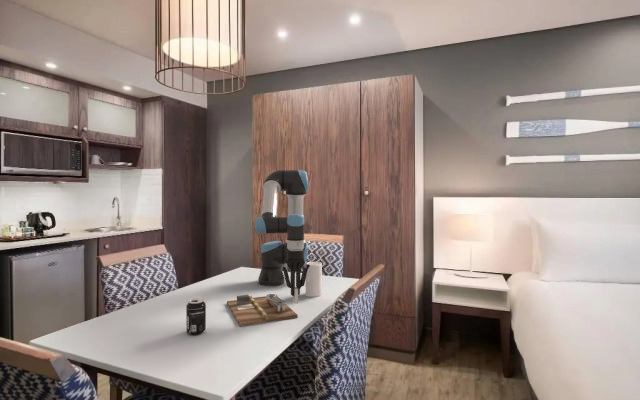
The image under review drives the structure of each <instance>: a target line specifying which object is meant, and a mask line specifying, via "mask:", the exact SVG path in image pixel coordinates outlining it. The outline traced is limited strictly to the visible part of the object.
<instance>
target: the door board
mask: <svg viewBox="0 0 640 400" xmlns="http://www.w3.org/2000/svg"><path fill="white" fill-rule="evenodd" d="M275 295H276V294H275ZM266 296H267V295H265V296H257V297H253V296H252V295H249V294H243V295H242V294H241V295H236V299H233V300H226V306H228V308H229V310H230V312H231V313H232V316H233V317H234V319H235V321H236V322H237V324H238V327H240V328H241V327H247V326H254V325H259V324H260V325H261V324H266V323H271V322H279V321H284V320H290V319H297V318H298V317H299V315H298V314H297V312H295V311H294V310H293V309H292V308H291V307H290V306H289V305H288V304H287V303H285V302H284V300H282V299H281V298H280V297H279V296H278V295H276V297H277V298H278V299H279V300H280V301H281V302H284V305H285V310H283V311H277V310H276V309H275V308H274V307H273V306H272V305H271V304H270V303H269V302H267V301H266Z"/></svg>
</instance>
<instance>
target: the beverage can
mask: <svg viewBox="0 0 640 400" xmlns="http://www.w3.org/2000/svg"><path fill="white" fill-rule="evenodd" d="M185 307H186V309H185V313H186V314H185V317H186V318H185V319H186V320H185V322H186V330H185V331H186V333H187V334H188V335H191V336H198V335H201V334H203V333H205V332H206V329H207V327H206V326H207V315H206V314H207V312H206V311H207V310H206V309H207V305H206V302H205V299H204V298H201V297H198V298H191V299H189V300H188V301H187V304H186V306H185Z"/></svg>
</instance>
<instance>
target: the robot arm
mask: <svg viewBox="0 0 640 400" xmlns="http://www.w3.org/2000/svg"><path fill="white" fill-rule="evenodd" d="M262 191H263V197H262V206H261V212H260V213H261V214H260V216H259V217H258V216H257V217H256V218H255V224H254V226H255V232H256V233H257V234H287V235H286V236H287V237H286V238H287V239H286V240H285V243H283V242H282V241H281V240H273V241H268V242H265V243H263V244H262V245H261V250H260V253H261V254H260V255H261V259H260V260H261V262H260V263H261V269H260V272H259V275H258V279H257V280H258V281H257V283H258V285H261V286H272V287H273V286H279V285H282V284H283V285H284V283H285V284H286V287H287V288H289V289H290V296H292V303H293V304H294V305H296V304H299V296H300V295H301V289H302V287H304V286H305V285H306V275H307V270H308V268H309V267H310V265H309V264H306V263H307V259H308V251H309V244H308V243H307V242H306V241H307V240H306V239H305V216H304V199H305V197H306V195H307V192H309V191H310V186H309V179H308V173H307V171H305V170H302V169H283V170H282V169H277V170H275V171H273V172H271V173H269V174H268V175H267V176H266V178H264V181H263V183H262ZM281 191H282V192H285V195H286V196H287V198H288V199H287V200H288V201H287V205H288V207H287V209H288V211H287V213H288V214H287V216H278V206H279V205H278V204H279V193H281ZM288 269H289V272H290V276H289V272H288Z"/></svg>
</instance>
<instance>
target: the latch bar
mask: <svg viewBox="0 0 640 400" xmlns="http://www.w3.org/2000/svg"><path fill="white" fill-rule="evenodd" d="M265 296H266V301H267V302H269V303H270V304H271V305H272V306H273V307H274V308H275V309H276V310H277V311H283V310H285V305H284V303H285V302H284V301H283V302H281V301H280V300H279V299H278V298H277V297H276V294H275V293H269V294H266V295H265Z"/></svg>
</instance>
